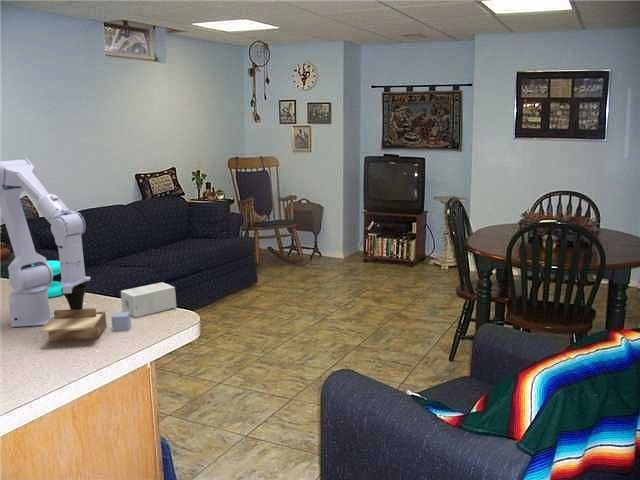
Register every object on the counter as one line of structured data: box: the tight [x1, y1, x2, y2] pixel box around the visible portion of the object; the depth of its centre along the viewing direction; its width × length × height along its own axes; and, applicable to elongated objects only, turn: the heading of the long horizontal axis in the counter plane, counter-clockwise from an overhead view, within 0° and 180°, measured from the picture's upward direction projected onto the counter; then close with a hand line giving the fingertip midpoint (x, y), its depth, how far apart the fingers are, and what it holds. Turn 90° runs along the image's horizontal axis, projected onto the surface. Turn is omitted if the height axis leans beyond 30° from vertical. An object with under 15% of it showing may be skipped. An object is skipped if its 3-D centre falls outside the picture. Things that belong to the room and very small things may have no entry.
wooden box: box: [48, 311, 107, 342], centre depth 173 cm, size 12×10×4 cm
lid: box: [39, 307, 102, 333], centre depth 167 cm, size 12×10×2 cm
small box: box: [120, 281, 177, 318], centre depth 191 cm, size 8×6×13 cm
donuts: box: [31, 260, 64, 299], centre depth 209 cm, size 10×10×10 cm
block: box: [111, 311, 132, 332], centre depth 176 cm, size 4×4×4 cm
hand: (77, 313), depth 172 cm, fingers closed
